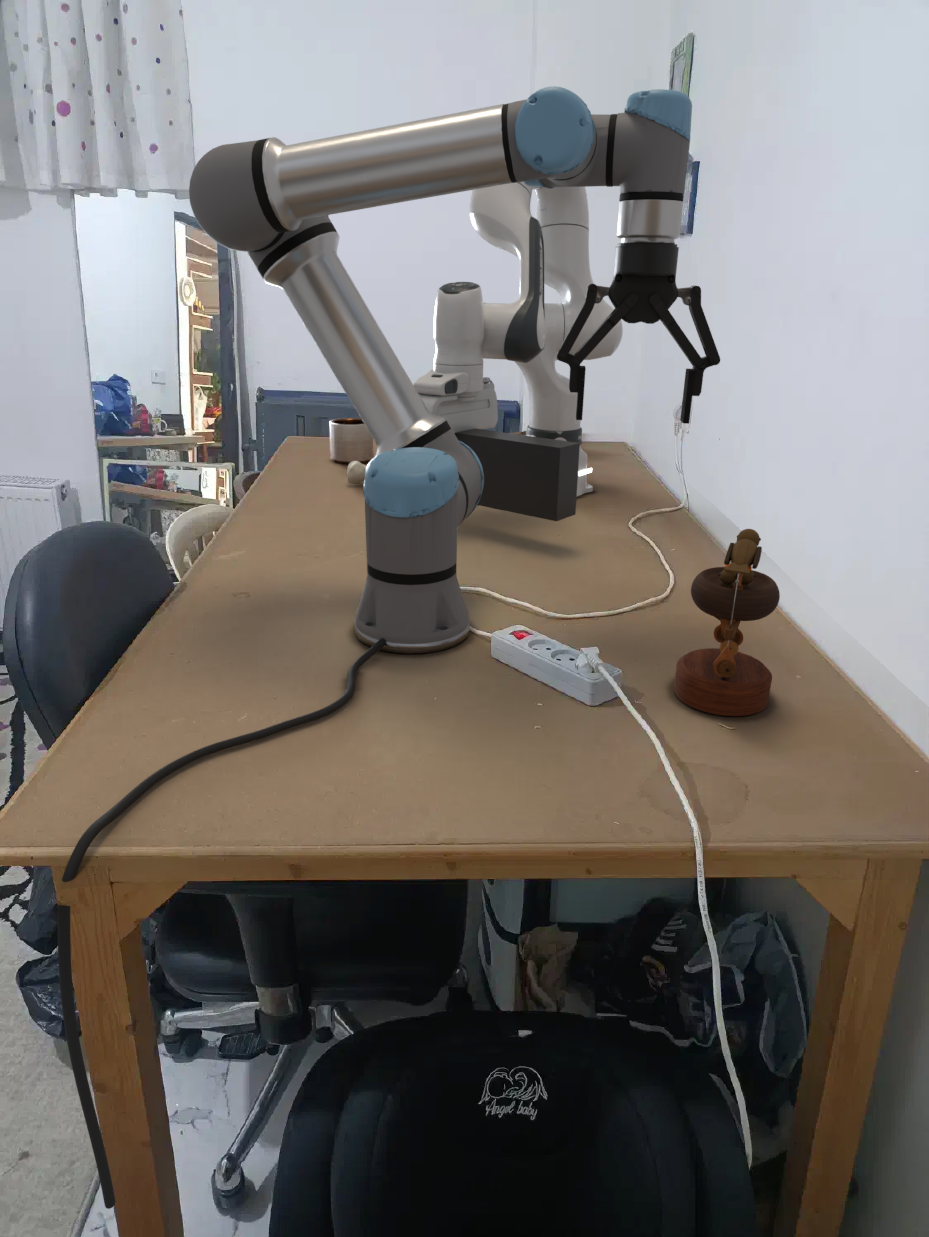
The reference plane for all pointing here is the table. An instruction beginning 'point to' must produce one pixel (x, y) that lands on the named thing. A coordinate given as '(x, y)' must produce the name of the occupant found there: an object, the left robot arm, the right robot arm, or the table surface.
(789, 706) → the table surface
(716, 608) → the music box
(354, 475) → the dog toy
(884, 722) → the table surface
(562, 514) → the box
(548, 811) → the table surface
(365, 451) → the planter
